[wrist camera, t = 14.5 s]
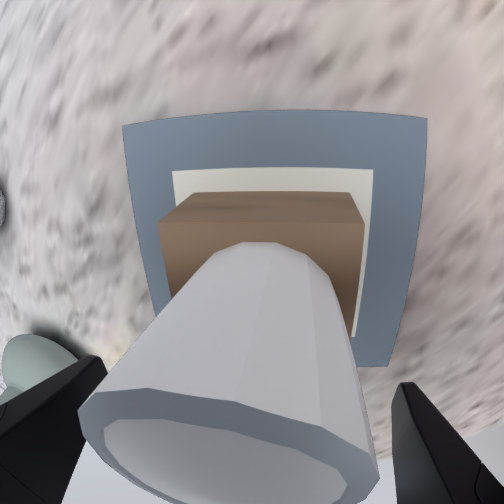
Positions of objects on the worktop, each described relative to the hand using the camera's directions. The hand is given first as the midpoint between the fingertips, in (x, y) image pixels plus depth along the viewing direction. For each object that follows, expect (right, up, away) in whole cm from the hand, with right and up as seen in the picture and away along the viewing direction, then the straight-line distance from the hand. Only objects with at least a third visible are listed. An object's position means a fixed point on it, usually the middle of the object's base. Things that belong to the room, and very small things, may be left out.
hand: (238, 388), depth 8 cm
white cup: (+1, +2, +4) cm, 4 cm away
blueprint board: (+1, +4, +8) cm, 9 cm away
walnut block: (+1, +3, +7) cm, 8 cm away
